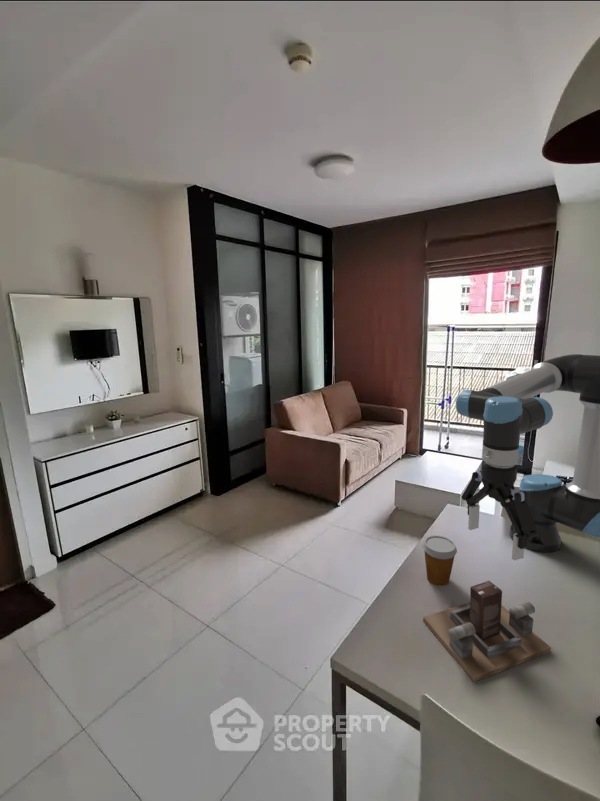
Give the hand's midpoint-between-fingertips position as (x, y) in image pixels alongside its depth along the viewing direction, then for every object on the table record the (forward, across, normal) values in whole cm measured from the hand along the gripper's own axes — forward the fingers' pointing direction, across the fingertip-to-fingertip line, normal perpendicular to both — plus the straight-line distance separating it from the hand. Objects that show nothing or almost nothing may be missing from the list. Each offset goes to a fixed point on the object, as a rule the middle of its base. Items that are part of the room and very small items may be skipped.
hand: (493, 542), depth 94 cm
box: (+21, +4, -6) cm, 22 cm away
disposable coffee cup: (+22, -17, -2) cm, 28 cm away
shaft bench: (+22, +4, -6) cm, 23 cm away
